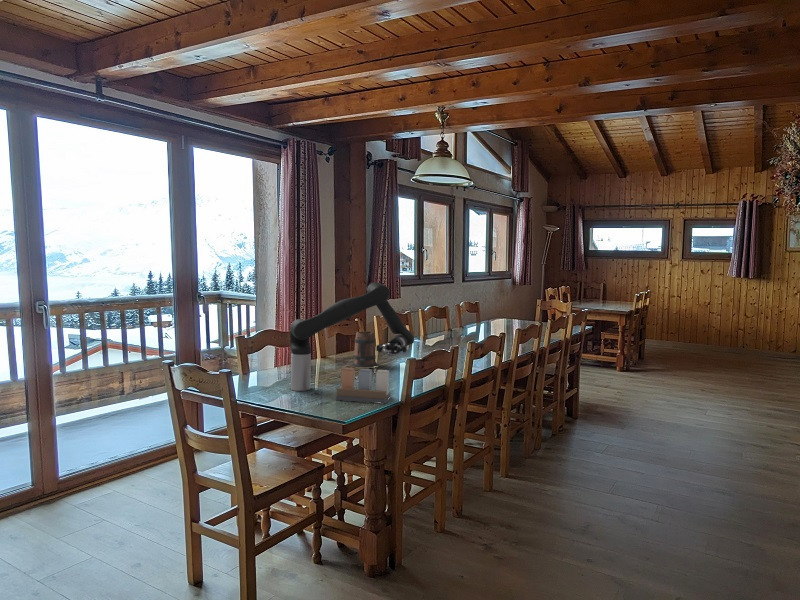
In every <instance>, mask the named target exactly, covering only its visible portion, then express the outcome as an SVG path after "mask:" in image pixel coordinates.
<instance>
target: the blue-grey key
mask: <svg viewBox="0 0 800 600" xmlns="http://www.w3.org/2000/svg"><path fill="white" fill-rule="evenodd" d="M358 370H359V371H358V389H363V390H372V385H373V384H372V380H373V378H372V376H373V375H372V374H373V370H372V369H358Z"/></svg>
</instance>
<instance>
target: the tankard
mask: <svg viewBox="0 0 800 600" xmlns="http://www.w3.org/2000/svg"><path fill="white" fill-rule="evenodd" d="M376 358H377V356H376V338H375V332H374V331H356V332H355V338H354V354H353V361H352V362H351V364H350V365H352V366H355V367H373V366H377V365H378V362H376Z"/></svg>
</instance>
